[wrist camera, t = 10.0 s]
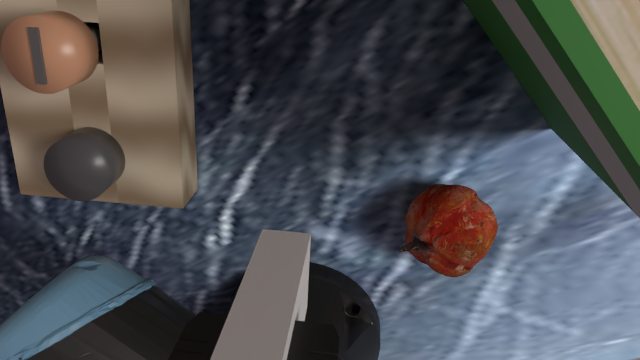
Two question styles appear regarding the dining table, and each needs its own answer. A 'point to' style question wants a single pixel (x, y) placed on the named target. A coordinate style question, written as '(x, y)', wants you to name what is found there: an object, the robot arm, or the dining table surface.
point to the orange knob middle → (50, 51)
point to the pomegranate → (449, 229)
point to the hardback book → (578, 76)
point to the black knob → (84, 163)
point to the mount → (115, 100)
